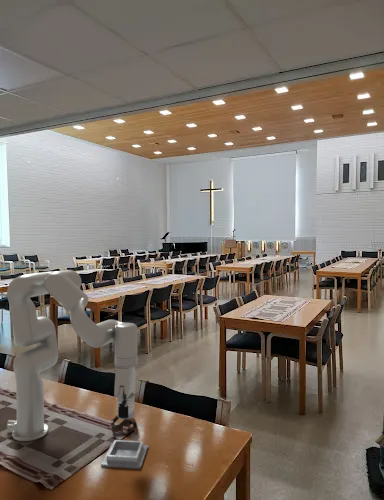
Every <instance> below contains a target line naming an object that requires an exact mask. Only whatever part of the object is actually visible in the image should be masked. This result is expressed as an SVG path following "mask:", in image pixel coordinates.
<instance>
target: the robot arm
mask: <svg viewBox="0 0 384 500" xmlns="http://www.w3.org/2000/svg"><path fill="white" fill-rule="evenodd" d="M81 286H82V278H81V275H80V274H79V273H78V272H76V271H75V270H71V269H68V270H67V269H66V270H58V271H57V270H56V271H54V270H53V271H43V272H34V273H27V274H23V275H19V276H17V277H15V278H13V279H12V280H10V282H9V284H8V287H7V290H6V291H7V292H6V293H7V294H6V295H7V301H8V304H9V308H10V313H11V319H12V320H11V321H12V330H13V335H14V341H15V343H16V344H17V346H19V347H20V348H26V347H30V346H32V345H33V346H34V345H35V347H31V348H28V349H26V350H24V351H21V352H20V353H18V354H17V355H16V357H15V358H14V359H13V364H12V365H13V366H12V368H13V371H14V376H15V386H16V387H15V388H16V389H15V390H16V391H15V393H16V399H15V400H16V420H14V419H8V420H7V423H6V428H7V429H13V431H12V433H11V436H12V438H13V440H16V441H18V442H30V441H31V442H32V441H34V440H35V441H36V440H39V439H40V438H42V437H44V436H45V435H47V434H48V433H49V425H48V424H46V423H45V386H44V381H43V379H42V378H41V375H40V373H42V372H44V371H45V370H47V369H50V368H52V367H53V366H55V365H56V364H57V362H58V360H59V349H58V339H57V333H56V331H57V330H56V326H55V324H54V322H53V321H52V319H50V318H49V317H47V316H45V315H44V316H38V315H37V314H38V313H37V308H36V306H35V304H34V302H33V301H32V299H31V298H34V297H38V296H43V295H51V297H53V299H54V300H55V301H57V303H58V304H59V305H61V307H62V308H63V309H64V310H65V311H66V312H67V313H68V314H69V320H70V324H71V327H72V329H73V331H74V332H75V334H76V335H77V336H78V337H79V338H80V339H81V340H82V341H83V342H84V343H85V344H87V345H88V346H90V347H91V348H96V349H97V348H101V347H104V346H106V345H108V344H111V343H114V366H115V377H114V391H113V393H114V396H113V397H114V398H117V397H118V395H119V398H118V400H117V402H118V417H119V418H128V406H127V403H128V397H129V396H130V395H131V393H134V390H135V387H136V367H137V366H138V330H139V329H138V326H137V324H135V323H133V322H123V321H119V320H116V319H107V320H104V321H101V322H99V323H95V322H94V321H93V320H92V319H91V318H90V317H89V316H88V315H87V313H86V311H85V308H86V306H87V305H88V304H89V303H88V302H89V297H88V295H87V294H86V293H85V292H84V291H83V290H82V289H81ZM123 395H126V396H123ZM123 398H124V399H125V401H124V400H123Z"/></svg>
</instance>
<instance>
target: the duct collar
mask: <svg viewBox="0 0 384 500" xmlns="http://www.w3.org/2000/svg"><path fill="white" fill-rule="evenodd" d="M148 448H149V445H148V444H144V441H141V440H124V439H114V441H113V442H111V444H110V445H109V448H108V450H107V452H106V454H105V456H104V458H103V460H102V462H101V464H100V467H101V468H117V469H118V468H119V469H131V470H132V469H135V470H141V469H142V467H143V463H144V460H145V457H146V455H147V451H148Z"/></svg>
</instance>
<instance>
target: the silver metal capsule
mask: <svg viewBox="0 0 384 500" xmlns="http://www.w3.org/2000/svg"><path fill="white" fill-rule="evenodd" d="M123 396H126V395H123ZM118 398H119V395H118V397H116V402H117V412H116V413H117V414H116V416H117V417H118ZM135 398H136V394H135V393H134V392H133V393H131V395H130V396H129V397H128V403H127V406H128V418H119V417H118V418H119V419H118V420H122V421H123V420H127V419H131V418H135ZM123 400H124V401H125V399H124V398H123Z"/></svg>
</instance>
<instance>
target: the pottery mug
mask: <svg viewBox="0 0 384 500" xmlns="http://www.w3.org/2000/svg"><path fill="white" fill-rule="evenodd" d="M118 420H120V419H119V418H118V417H117V415H115V416H114V417H113V418H112V421H111V423H110V427H111V432H112V433H115V434H116V433H124V428H130V427H131V425H132V428H133V429H134V433H135V435H138V433H139V427H138V424H137V422H136V419H135V417H133V418H131V419H127V420H122V422H119V423H118V424H116V425H115V423H116V422H117V421H118Z"/></svg>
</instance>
